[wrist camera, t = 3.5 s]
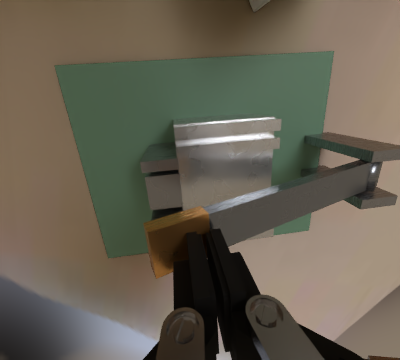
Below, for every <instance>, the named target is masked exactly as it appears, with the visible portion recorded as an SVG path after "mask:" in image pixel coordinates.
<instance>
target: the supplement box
mask: <svg viewBox="0 0 400 360" xmlns="http://www.w3.org/2000/svg"><path fill="white" fill-rule="evenodd" d="M269 1H271V0H249V2H250V4H251V7H252V10H253V12H256V11H257V10H259V9H260V8H261V7H263V6H264V5H265V4H267V3H268V2H269Z"/></svg>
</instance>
